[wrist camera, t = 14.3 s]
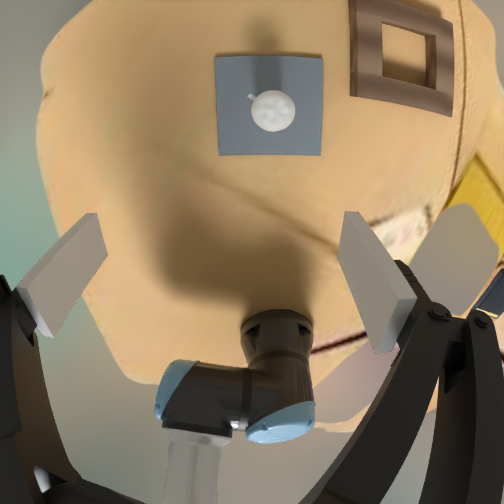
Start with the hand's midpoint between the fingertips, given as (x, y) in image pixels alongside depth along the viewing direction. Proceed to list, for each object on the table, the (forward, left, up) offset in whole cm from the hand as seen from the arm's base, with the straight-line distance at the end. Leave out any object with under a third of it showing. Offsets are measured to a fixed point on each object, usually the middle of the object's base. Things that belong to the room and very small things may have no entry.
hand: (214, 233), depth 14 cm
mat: (+5, -4, -26) cm, 27 cm away
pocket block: (+15, -23, -26) cm, 38 cm away
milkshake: (+5, -4, -26) cm, 27 cm away
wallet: (-34, -70, -27) cm, 83 cm away
